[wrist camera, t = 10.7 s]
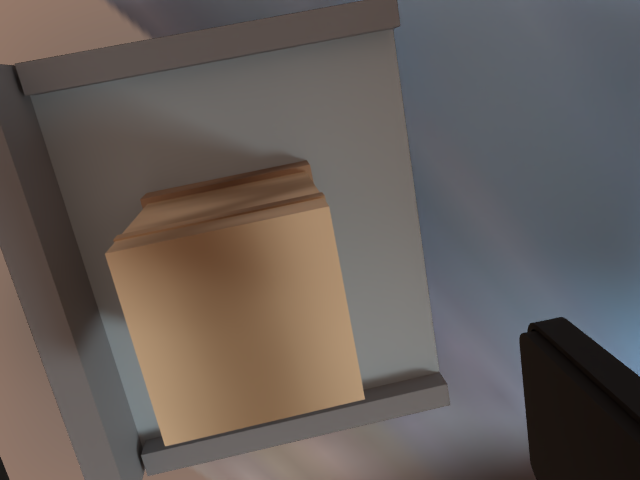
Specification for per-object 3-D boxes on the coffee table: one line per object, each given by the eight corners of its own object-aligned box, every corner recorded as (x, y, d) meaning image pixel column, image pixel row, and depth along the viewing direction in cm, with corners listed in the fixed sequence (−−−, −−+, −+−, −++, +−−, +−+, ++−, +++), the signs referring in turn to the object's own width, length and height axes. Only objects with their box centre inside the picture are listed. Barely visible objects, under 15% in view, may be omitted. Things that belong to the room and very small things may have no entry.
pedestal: (306, 160, 21) (335, 196, 14) (335, 306, 23) (373, 403, 16) (146, 193, 20) (94, 247, 14) (187, 339, 22) (159, 454, 15)
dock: (373, 8, 22) (413, -16, 17) (424, 364, 27) (468, 433, 21) (14, 74, 21) (-64, 70, 16) (130, 432, 26) (99, 521, 20)
